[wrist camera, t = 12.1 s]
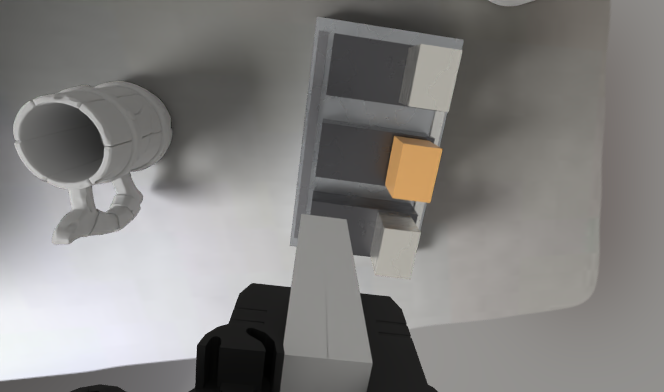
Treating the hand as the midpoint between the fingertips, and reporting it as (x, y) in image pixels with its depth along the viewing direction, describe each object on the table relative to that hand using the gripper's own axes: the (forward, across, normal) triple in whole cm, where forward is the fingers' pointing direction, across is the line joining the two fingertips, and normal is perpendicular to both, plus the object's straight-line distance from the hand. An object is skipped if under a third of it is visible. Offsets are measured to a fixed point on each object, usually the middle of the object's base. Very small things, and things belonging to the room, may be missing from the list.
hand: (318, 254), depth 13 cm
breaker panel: (+23, +4, 0) cm, 24 cm away
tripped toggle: (+18, +7, 0) cm, 19 cm away
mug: (+24, -16, -3) cm, 29 cm away
